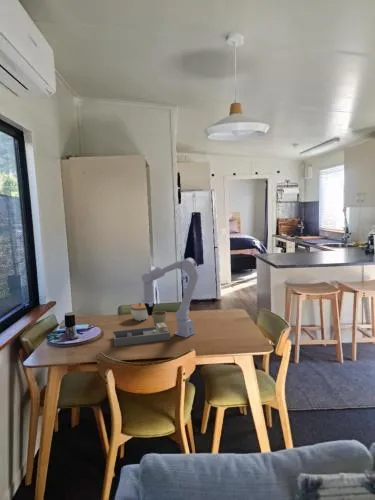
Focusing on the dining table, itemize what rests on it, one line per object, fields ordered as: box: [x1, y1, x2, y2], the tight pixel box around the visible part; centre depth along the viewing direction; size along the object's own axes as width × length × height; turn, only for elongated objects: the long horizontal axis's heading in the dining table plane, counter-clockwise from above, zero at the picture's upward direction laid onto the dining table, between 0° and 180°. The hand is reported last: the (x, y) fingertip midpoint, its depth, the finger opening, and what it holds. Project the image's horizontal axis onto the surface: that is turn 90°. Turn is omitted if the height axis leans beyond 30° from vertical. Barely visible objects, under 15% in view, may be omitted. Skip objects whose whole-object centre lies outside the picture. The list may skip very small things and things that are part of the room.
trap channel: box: [112, 325, 171, 347], centre depth 198 cm, size 30×13×4 cm, turn 103°
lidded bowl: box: [130, 302, 149, 322], centre depth 232 cm, size 13×13×11 cm
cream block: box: [156, 322, 168, 333], centre depth 201 cm, size 4×8×4 cm, turn 17°
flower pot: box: [151, 310, 167, 326], centre depth 216 cm, size 9×9×9 cm
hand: (149, 315), depth 206 cm, fingers closed
